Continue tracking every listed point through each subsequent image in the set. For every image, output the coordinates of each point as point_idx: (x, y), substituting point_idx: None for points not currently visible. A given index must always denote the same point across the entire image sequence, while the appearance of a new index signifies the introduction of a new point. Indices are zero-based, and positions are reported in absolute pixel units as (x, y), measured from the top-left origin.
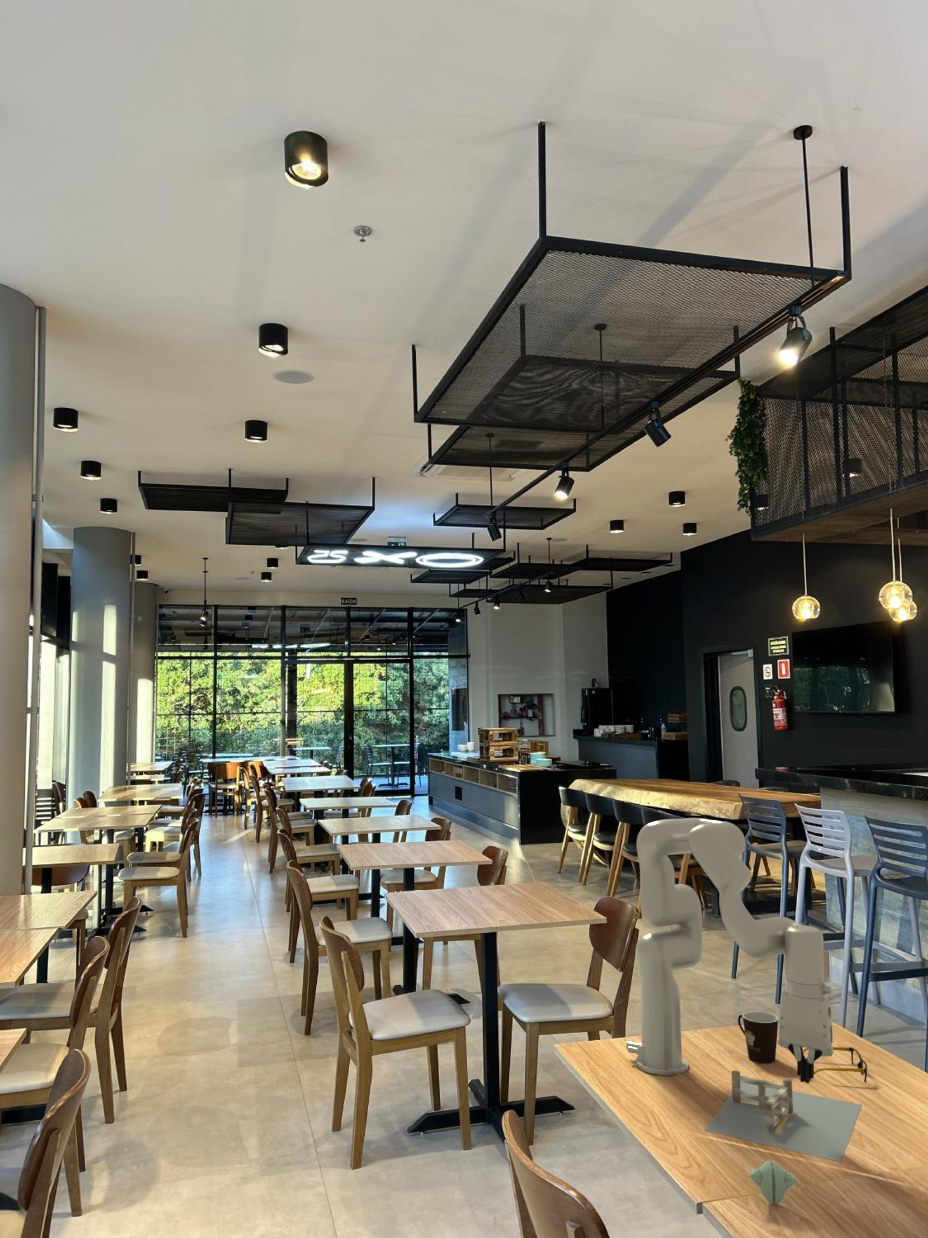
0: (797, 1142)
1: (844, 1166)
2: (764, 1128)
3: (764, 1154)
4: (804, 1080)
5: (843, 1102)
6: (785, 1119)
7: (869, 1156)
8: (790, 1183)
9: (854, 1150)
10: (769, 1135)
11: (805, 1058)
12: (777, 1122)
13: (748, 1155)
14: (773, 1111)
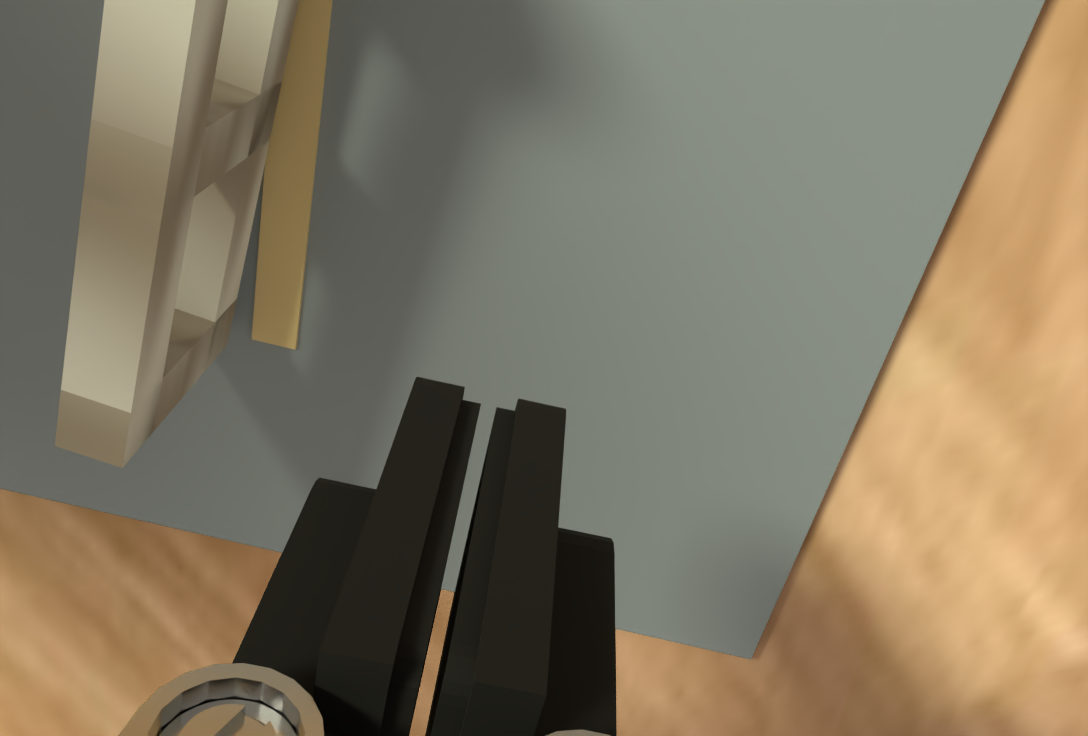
0: None
1: (769, 661)
2: None
3: (240, 624)
4: (443, 577)
5: None
6: (316, 1)
7: (1013, 488)
8: None
9: (915, 419)
10: (223, 395)
11: (396, 655)
12: (248, 221)
13: (147, 656)
14: (172, 373)
